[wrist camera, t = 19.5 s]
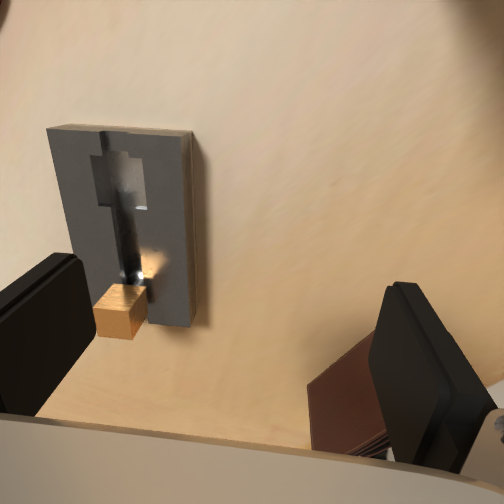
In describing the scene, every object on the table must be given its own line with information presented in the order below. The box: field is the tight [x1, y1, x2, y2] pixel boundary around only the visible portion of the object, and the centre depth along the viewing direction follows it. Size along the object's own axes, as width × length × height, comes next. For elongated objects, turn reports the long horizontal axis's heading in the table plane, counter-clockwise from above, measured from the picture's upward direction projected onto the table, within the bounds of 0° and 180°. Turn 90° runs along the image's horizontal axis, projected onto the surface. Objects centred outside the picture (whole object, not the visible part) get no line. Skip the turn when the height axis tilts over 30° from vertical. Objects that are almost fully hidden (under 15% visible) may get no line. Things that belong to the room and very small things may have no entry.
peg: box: [93, 267, 148, 340], centre depth 42 cm, size 4×4×10 cm
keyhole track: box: [46, 124, 198, 327], centre depth 41 cm, size 14×24×4 cm, turn 178°
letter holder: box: [307, 330, 391, 457], centre depth 44 cm, size 10×20×14 cm, turn 144°
